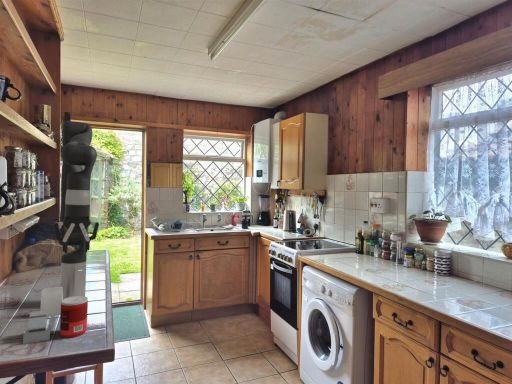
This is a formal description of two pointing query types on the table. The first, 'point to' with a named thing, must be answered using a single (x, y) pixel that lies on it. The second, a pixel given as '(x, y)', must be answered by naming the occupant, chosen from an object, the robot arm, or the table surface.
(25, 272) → the table surface
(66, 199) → the robot arm
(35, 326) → the block
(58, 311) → the tea bag
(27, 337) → the rail channel
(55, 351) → the table surface
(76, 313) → the canned food
